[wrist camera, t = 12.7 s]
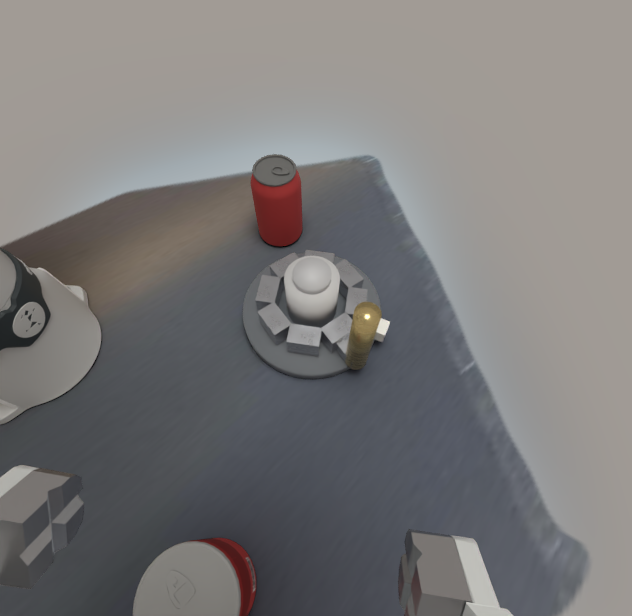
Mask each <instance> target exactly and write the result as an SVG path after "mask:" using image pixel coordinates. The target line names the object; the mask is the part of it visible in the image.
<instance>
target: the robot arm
mask: <svg viewBox="0 0 632 616" xmlns="http://www.w3.org/2000/svg"><path fill="white" fill-rule="evenodd" d="M100 344H101V329H100V325H99V322H98V320H97V318H96V317H95V315H94V314H93V313H92V312H91V310H90V309H89V306H88V297H87V293H86V291H85V290H84V289H82V288H81V287H79V286H70V285H64V284H63V283H61V282H60V281H59V280H58V279H56V278H55V277H54V276H53V275H51V274H50V273H49V272H48V271H46V270H45V269H43V268H37V269H36V268H28V266H27V265H26V264H25V263H24V262H22V261H21V260H20V259H19V258H17V257H16V256H14V255H12V254H11V253H9V252H8V251H6V250H4V249H2V248H0V424H4V423H6V422H8V421H10V420H12V419H13V418H15V417H16V416H18V415H19V414H21V413H22V412H23V411H25V410H26V409H28V408H30V407H33V406H36V405H39V404H42V403H45V402H48V401H50V400H53V399H55V398H57V397H59V396H60V395H62V394H64V393H65V392H67V391H68V390H70V389H71V388H72V387H74V386H75V385H76V384H77V383H78V382H79V381H80V380H81V379H82V378H83V377H84V376H85V375H86V373H87V372H88V371H89V370H90V368H91V367H92V365H93V363H94V361H95V359H96V357H97V355H98V352H99V349H100ZM82 489H83V487H82V479H81V477H79V476H77V475H74V474H69V473H64V472H59V471H53V470H48V469H43V468H35V467H30V466H25V465H19V466H16V467H13V468H12V469H11V470H9V471H8V472H7V473H6V474H4V475H3V476H2V477H0V585H5V586H12V587H19V588H26V589H31V588H32V587H33V586H34V585H35V584H36V582H37V581H38V580H39V579H40V578H41V576H42V575H43V574H44V573H45V572H46V570H47V569H48V568H49V567H50V566H51V564H52V563H53V560H54V552H56V551H58V550H60V549H62V548H64V547H65V546H67V545H68V544H69V543H70V542H71V540H72V539H73V538H74V537H75V535H76V534H77V531H78V529H79V527H80V525H81V523H82V520H83V515H84V503H83V502H82V500H81V499H80V498H79V496H78V493H79V492H80V491H81V490H82ZM405 550H406V554H404V555H403V556H402V557H401V561H400V566H399V578H398V589H399V601H400V605H401V606H402V608H403V609H404V611H405V614H404V616H513V615H512V614H511V613H510V612H509V611H508V610H507V609H503V608H500V606H499V603H498V600H497V598H496V595H495V592H494V589H493V587H492V584H491V581H490V579H489V576H488V573H487V570H486V568H485V565H484V562H483V559H482V557H481V554H480V551H479V548H478V546H477V543H476V542H475V540H474V539H472V538H465V537H458V536H450V535H444V534H438V533H431V532H425V531H418V530H412V529H408V531H407V533H406V537H405Z"/></svg>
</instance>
